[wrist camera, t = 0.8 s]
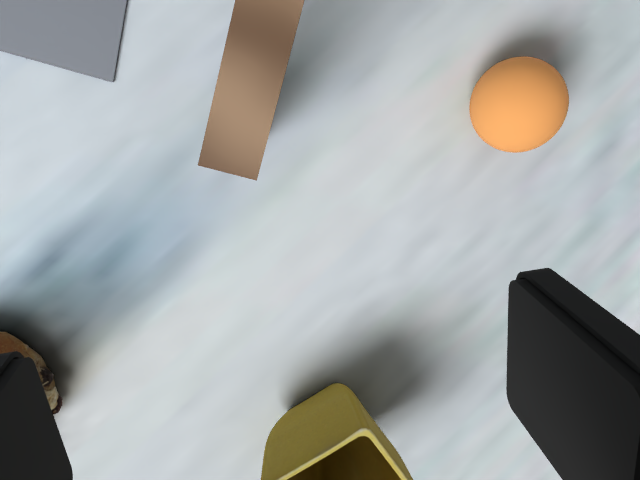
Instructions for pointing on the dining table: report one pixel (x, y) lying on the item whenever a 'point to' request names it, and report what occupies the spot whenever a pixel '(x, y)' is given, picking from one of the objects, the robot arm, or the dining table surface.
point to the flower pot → (330, 442)
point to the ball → (519, 104)
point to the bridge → (249, 85)
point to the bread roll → (9, 343)
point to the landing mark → (65, 33)
